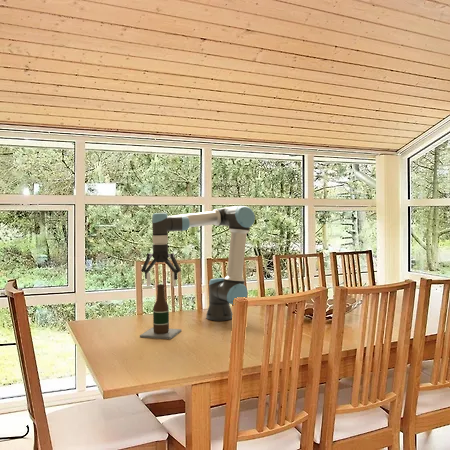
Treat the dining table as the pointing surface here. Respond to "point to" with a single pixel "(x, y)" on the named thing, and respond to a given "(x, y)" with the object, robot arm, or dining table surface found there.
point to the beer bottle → (160, 312)
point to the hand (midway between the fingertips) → (161, 286)
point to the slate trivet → (168, 335)
